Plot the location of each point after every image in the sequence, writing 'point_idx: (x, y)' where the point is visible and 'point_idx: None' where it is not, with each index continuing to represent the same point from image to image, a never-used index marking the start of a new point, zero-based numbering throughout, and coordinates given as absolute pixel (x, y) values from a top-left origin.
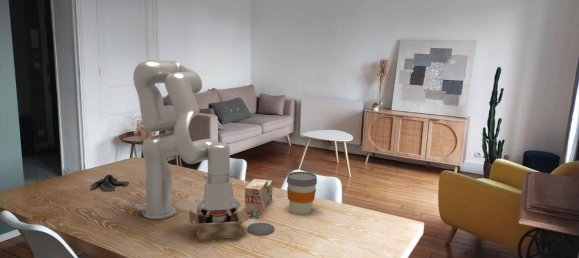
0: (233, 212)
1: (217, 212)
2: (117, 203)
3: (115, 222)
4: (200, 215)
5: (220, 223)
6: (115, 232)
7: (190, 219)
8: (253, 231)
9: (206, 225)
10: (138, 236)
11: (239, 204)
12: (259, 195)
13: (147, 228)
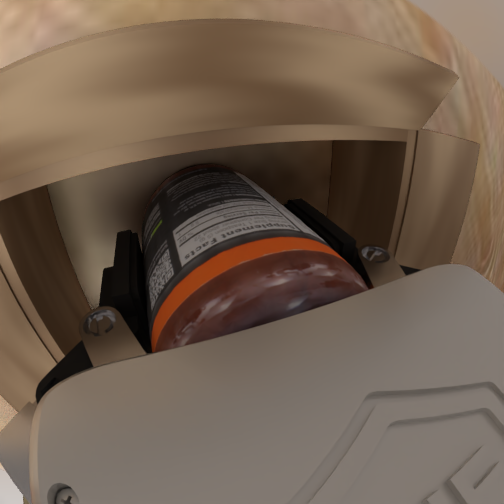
0: (66, 359)
1: (309, 272)
2: None
3: (479, 271)
4: None
5: (227, 23)
6: (496, 217)
7: (466, 189)
8: None
9: (366, 101)
10: (481, 187)
11: (1, 459)
12: (26, 500)
13: (456, 245)
